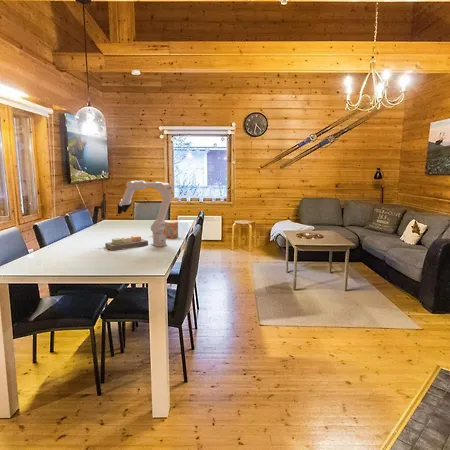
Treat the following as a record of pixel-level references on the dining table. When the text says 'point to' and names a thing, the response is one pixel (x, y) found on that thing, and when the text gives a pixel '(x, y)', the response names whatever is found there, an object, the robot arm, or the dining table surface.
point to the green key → (117, 241)
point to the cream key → (126, 239)
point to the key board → (126, 245)
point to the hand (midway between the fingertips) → (121, 212)
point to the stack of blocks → (171, 229)
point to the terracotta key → (136, 238)
